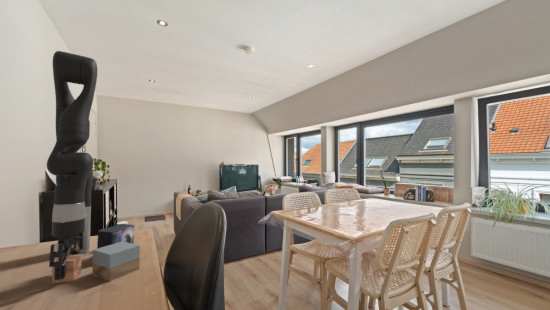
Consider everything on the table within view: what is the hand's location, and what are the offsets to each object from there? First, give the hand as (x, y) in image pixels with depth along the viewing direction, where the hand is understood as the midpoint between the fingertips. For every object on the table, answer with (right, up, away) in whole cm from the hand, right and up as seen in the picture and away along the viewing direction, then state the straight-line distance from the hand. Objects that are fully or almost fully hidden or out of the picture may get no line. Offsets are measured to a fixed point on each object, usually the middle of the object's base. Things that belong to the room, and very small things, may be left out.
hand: (67, 272), depth 70 cm
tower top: (+12, +2, +4) cm, 13 cm away
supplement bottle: (-1, -3, +27) cm, 27 cm away
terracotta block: (0, -2, 0) cm, 2 cm away
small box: (+3, -3, +17) cm, 18 cm away
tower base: (+12, -2, +4) cm, 13 cm away
